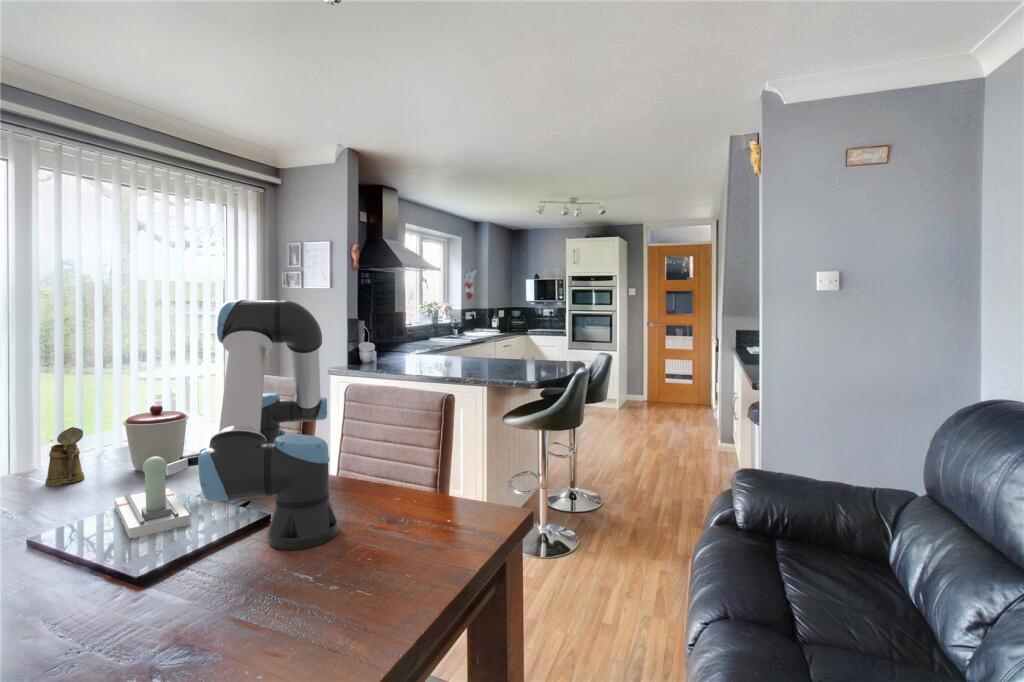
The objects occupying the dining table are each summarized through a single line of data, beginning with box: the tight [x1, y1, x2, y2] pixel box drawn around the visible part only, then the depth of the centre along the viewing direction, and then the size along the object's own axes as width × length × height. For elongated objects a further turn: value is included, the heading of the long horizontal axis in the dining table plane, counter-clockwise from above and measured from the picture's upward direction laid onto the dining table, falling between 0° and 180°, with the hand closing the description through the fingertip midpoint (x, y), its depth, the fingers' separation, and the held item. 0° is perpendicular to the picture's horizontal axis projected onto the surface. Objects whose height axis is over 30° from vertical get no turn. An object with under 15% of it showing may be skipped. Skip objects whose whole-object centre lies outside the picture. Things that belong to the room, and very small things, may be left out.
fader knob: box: [142, 456, 171, 520], centre depth 126 cm, size 5×5×14 cm
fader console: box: [114, 487, 191, 540], centre depth 132 cm, size 26×12×3 cm, turn 43°
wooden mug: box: [44, 426, 85, 487], centre depth 156 cm, size 9×14×18 cm, turn 54°
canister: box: [122, 404, 190, 473], centre depth 172 cm, size 18×18×21 cm
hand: (188, 472), depth 136 cm, fingers open, 13 cm apart
